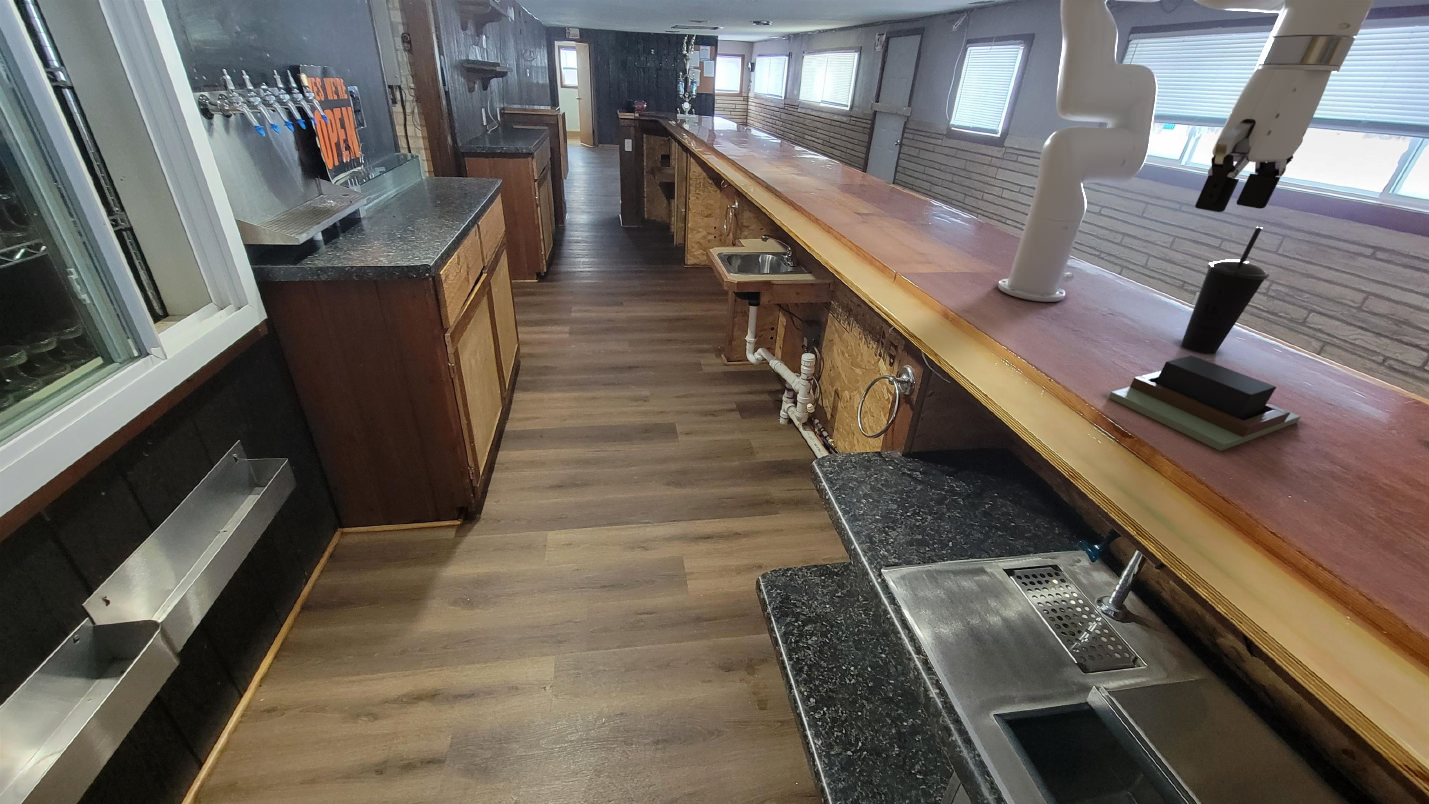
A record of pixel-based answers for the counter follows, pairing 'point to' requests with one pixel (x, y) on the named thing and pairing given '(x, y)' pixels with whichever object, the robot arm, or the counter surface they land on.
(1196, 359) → the black rectangular block
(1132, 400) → the rectangular tray
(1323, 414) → the counter surface
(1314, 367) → the counter surface
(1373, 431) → the counter surface
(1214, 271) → the drinking cup
